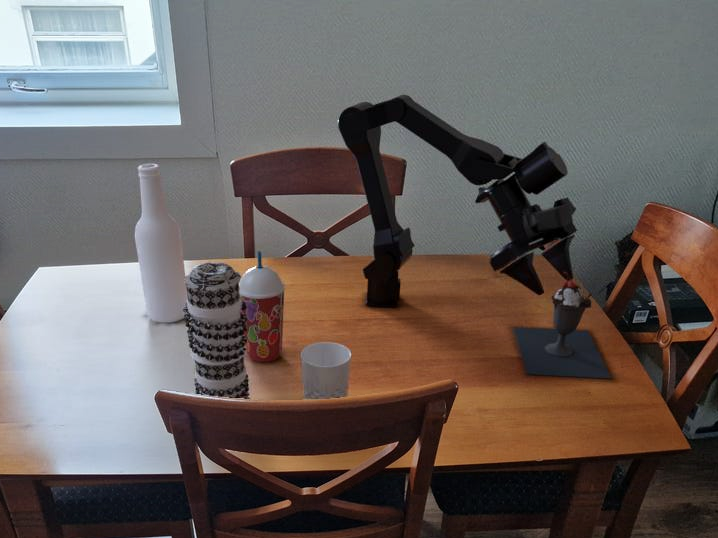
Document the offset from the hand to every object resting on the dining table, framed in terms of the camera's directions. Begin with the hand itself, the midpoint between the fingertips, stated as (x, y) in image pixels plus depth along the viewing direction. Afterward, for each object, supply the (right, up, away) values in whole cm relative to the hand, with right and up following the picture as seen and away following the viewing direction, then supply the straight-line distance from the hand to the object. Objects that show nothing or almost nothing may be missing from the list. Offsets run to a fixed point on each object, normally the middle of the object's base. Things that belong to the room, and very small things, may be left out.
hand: (556, 286), depth 116 cm
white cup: (-42, -22, -9) cm, 48 cm away
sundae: (+2, -11, +5) cm, 12 cm away
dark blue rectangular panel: (+2, -11, +5) cm, 12 cm away
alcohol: (-73, -2, +21) cm, 76 cm away
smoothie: (-52, -12, +6) cm, 54 cm away
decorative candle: (-58, -23, -10) cm, 63 cm away
